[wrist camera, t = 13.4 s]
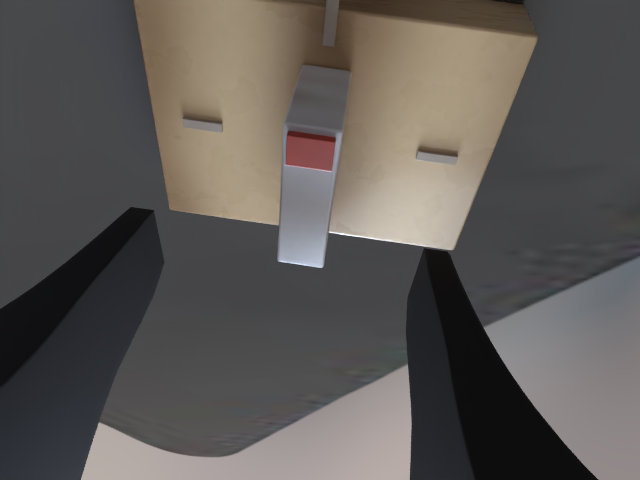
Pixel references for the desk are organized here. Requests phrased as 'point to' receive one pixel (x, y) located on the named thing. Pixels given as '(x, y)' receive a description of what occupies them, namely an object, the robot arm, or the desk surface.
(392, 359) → the desk surface
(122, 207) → the desk surface
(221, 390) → the desk surface
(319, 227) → the grey rectangular block
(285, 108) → the panel
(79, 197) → the desk surface
